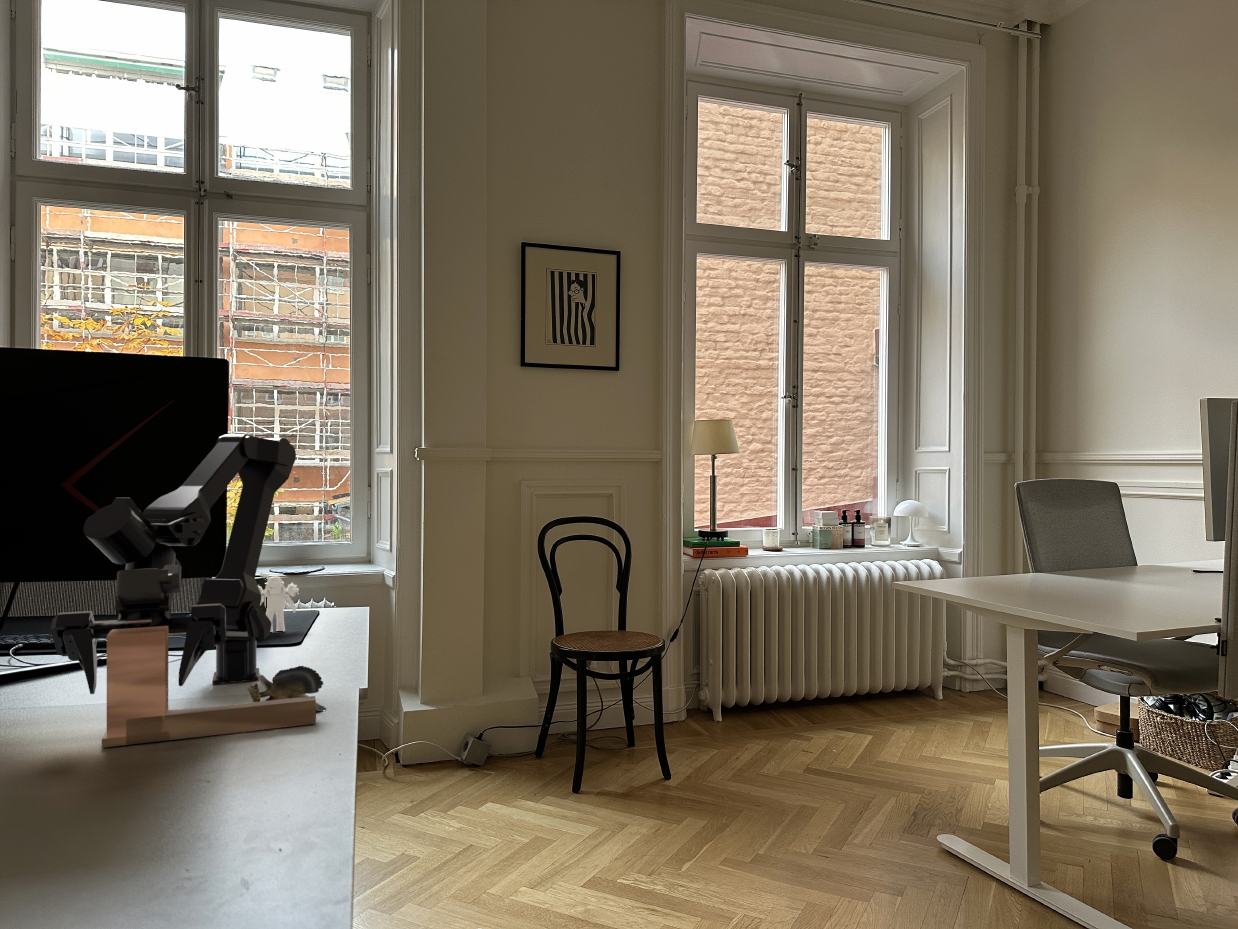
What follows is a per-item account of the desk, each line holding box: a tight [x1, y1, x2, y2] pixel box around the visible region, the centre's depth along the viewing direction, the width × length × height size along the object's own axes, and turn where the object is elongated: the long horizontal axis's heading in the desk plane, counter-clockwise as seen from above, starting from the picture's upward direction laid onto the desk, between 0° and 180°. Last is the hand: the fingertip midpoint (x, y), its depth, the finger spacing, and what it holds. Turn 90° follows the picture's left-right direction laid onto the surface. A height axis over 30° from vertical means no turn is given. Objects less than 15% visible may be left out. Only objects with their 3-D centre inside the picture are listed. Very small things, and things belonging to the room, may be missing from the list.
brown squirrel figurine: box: [247, 665, 327, 712], centre depth 112 cm, size 8×7×9 cm
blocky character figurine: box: [258, 572, 300, 633], centre depth 168 cm, size 9×4×12 cm, turn 116°
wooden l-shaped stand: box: [101, 626, 317, 748], centre depth 107 cm, size 10×24×13 cm, turn 113°
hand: (136, 688), depth 100 cm, fingers open, 9 cm apart
